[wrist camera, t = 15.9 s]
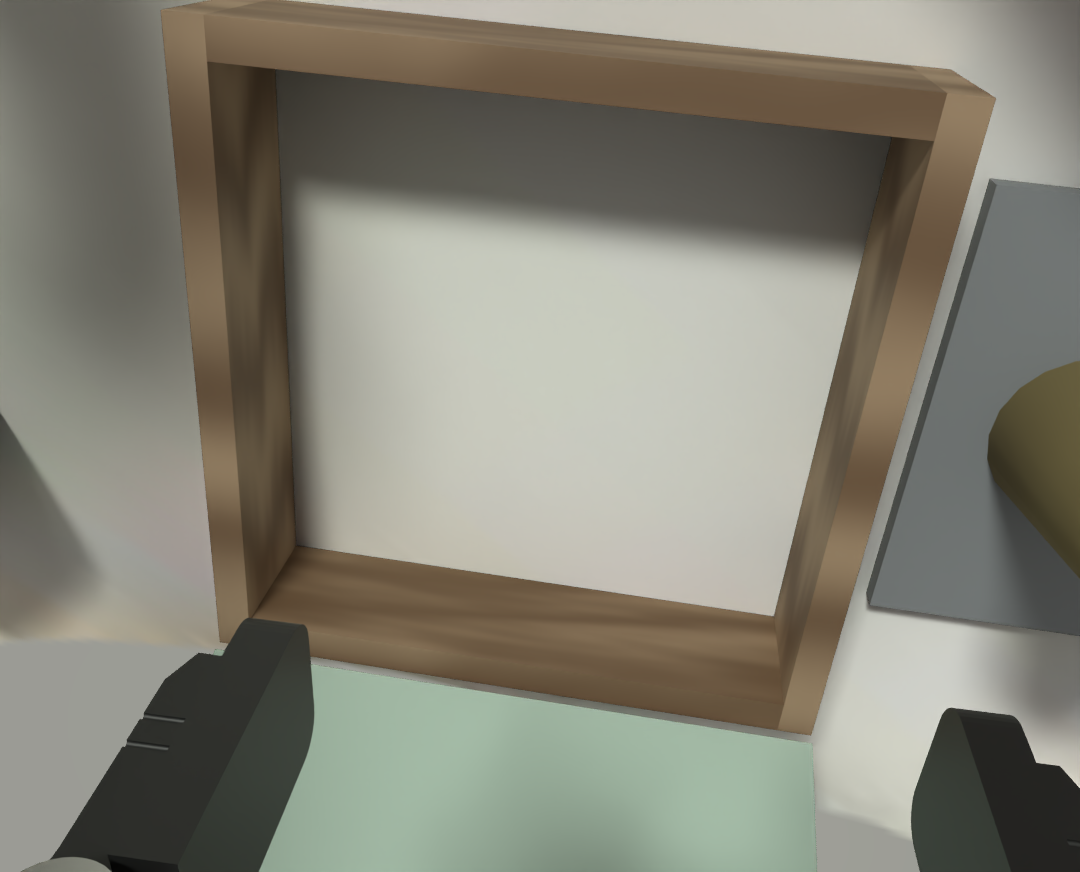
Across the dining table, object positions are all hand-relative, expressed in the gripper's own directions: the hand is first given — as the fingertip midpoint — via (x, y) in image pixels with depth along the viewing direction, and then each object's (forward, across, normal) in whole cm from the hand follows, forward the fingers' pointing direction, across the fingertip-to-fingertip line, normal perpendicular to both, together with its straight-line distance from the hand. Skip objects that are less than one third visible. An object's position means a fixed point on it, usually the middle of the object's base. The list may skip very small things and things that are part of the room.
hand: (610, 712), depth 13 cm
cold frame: (+23, +3, +6) cm, 24 cm away
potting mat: (+22, -16, +7) cm, 28 cm away
